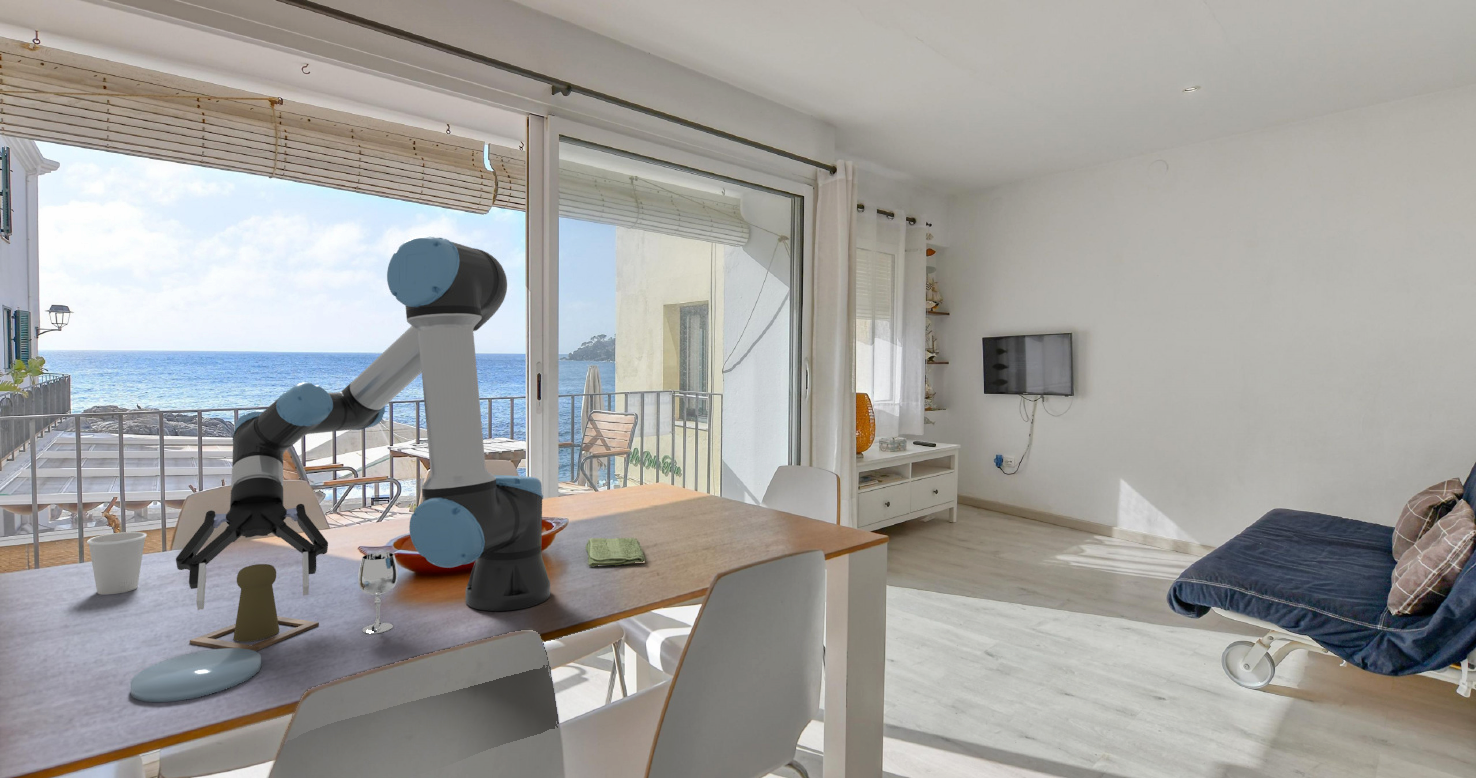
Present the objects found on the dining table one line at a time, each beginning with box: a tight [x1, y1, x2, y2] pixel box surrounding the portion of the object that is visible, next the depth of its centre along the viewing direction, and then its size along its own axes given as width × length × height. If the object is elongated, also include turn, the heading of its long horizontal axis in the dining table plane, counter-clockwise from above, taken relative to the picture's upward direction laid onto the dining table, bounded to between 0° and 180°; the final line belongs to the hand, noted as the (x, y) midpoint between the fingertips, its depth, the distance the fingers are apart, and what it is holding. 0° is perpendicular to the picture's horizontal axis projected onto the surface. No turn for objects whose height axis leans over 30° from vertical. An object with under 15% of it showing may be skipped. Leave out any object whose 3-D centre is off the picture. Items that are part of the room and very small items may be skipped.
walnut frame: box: [189, 615, 320, 652], centre depth 109 cm, size 12×12×1 cm
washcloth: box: [584, 537, 647, 567], centre depth 159 cm, size 13×18×3 cm
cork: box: [232, 563, 280, 643], centre depth 109 cm, size 6×6×11 cm
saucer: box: [130, 648, 262, 703], centre depth 94 cm, size 14×14×1 cm
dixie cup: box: [86, 531, 148, 596], centre depth 129 cm, size 8×8×10 cm
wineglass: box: [357, 551, 399, 635], centre depth 112 cm, size 6×6×12 cm
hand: (254, 597), depth 108 cm, fingers open, 13 cm apart
